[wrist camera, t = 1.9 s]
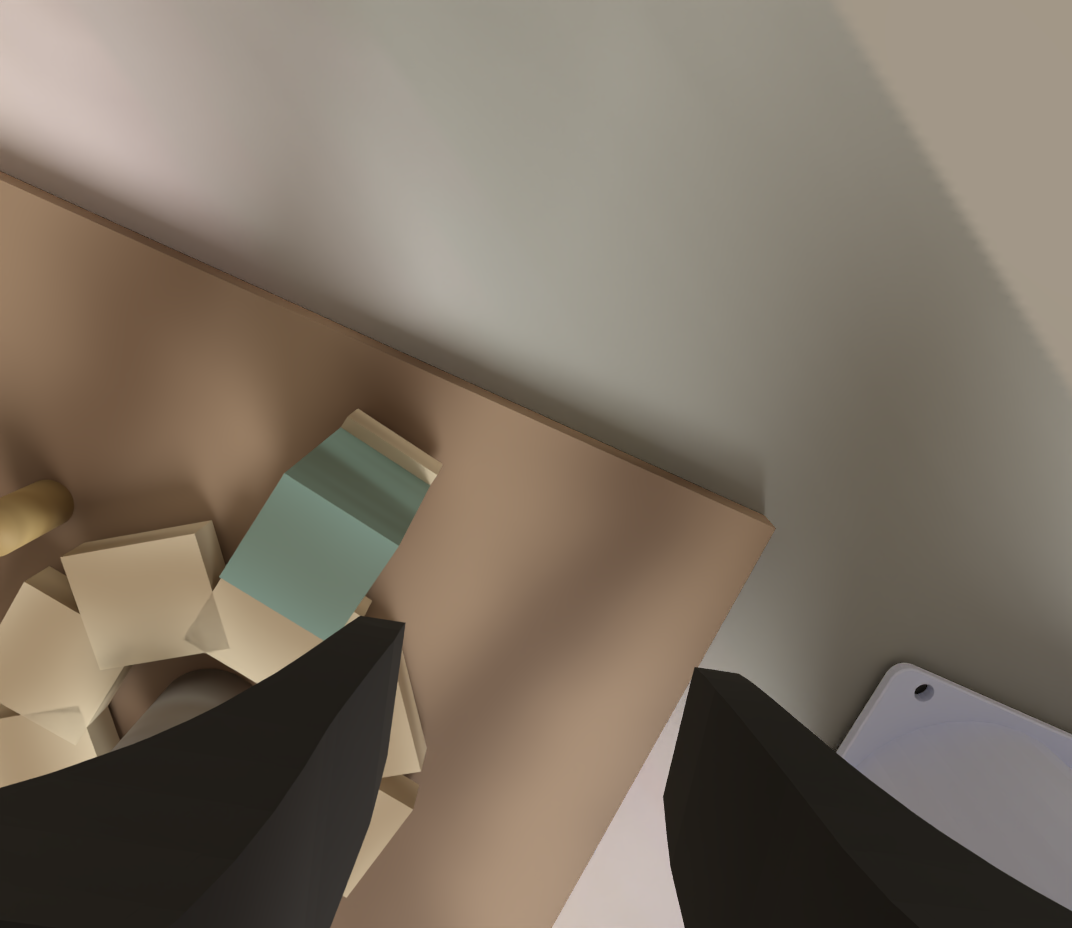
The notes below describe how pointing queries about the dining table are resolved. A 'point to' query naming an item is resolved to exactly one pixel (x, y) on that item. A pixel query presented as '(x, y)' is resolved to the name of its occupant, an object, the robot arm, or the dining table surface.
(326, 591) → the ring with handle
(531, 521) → the post board
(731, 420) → the dining table surface
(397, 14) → the dining table surface
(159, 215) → the dining table surface
